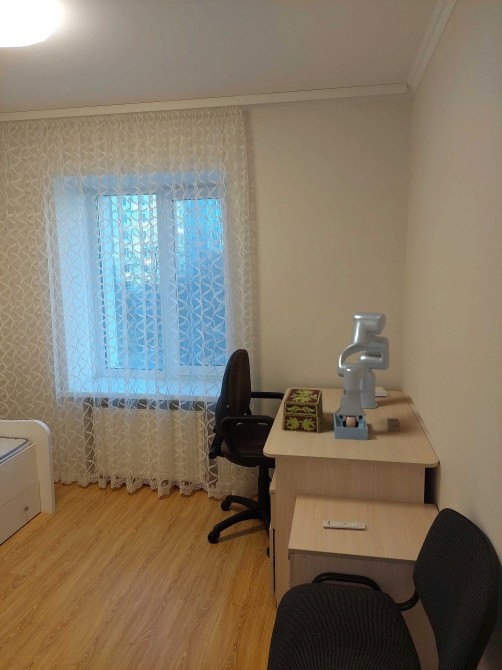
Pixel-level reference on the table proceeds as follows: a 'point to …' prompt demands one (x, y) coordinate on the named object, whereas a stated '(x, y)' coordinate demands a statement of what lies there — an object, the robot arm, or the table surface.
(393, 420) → the walnut block
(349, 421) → the canister
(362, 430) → the tote
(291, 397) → the decorative box
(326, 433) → the table surface
